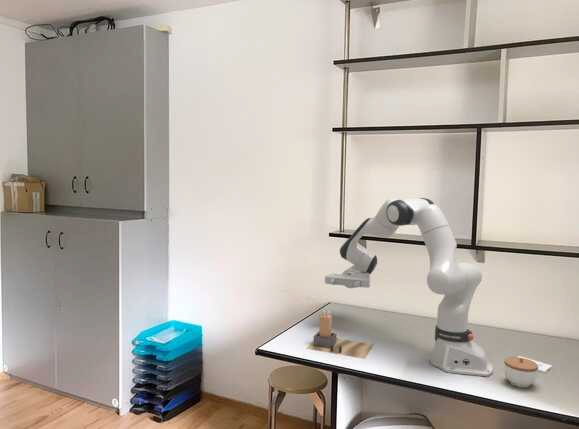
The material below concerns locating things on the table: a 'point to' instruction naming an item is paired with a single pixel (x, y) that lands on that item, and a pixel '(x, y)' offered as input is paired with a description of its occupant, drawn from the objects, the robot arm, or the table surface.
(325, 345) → the end holder
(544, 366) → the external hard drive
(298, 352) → the table surface
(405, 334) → the table surface
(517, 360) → the lidded jar
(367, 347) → the cable board
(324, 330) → the tan tall block
